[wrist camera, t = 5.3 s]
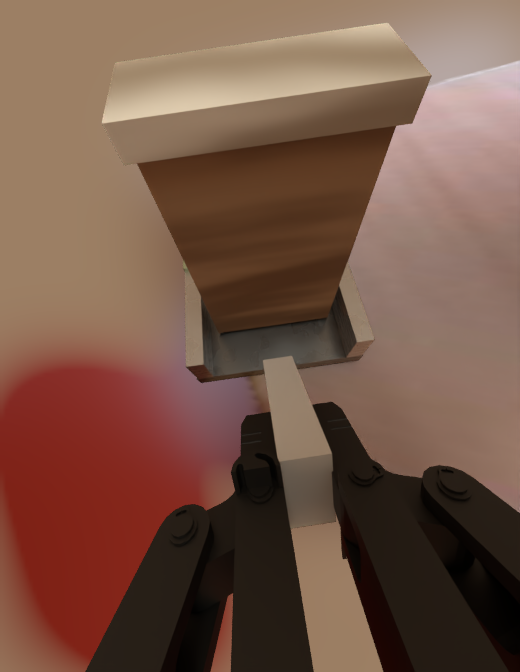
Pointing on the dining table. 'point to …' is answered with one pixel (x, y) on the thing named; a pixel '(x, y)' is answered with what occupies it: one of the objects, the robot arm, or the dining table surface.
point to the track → (275, 337)
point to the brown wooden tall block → (266, 159)
